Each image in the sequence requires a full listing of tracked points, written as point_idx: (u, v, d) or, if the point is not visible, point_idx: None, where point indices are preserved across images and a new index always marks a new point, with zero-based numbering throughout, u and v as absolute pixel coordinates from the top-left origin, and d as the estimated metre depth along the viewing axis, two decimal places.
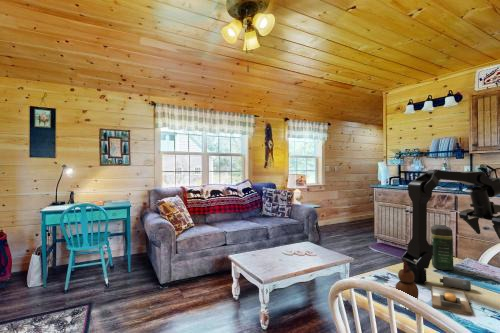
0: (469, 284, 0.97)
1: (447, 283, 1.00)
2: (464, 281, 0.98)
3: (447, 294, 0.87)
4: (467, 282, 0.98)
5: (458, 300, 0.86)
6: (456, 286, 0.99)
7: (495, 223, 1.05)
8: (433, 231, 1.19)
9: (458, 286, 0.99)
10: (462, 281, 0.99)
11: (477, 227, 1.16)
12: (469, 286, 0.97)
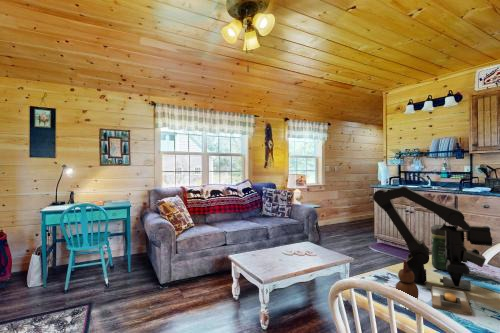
0: (469, 284, 0.97)
1: (447, 284, 1.00)
2: (464, 281, 0.98)
3: (447, 294, 0.87)
4: (467, 282, 0.98)
5: (458, 300, 0.86)
6: (456, 286, 0.99)
7: (446, 267, 0.96)
8: (433, 231, 1.19)
9: None
10: (462, 281, 0.99)
11: None
12: (469, 286, 0.97)
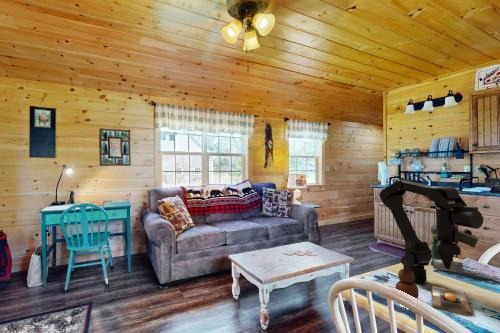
0: (461, 266, 0.91)
1: (438, 266, 0.95)
2: (456, 263, 0.92)
3: (447, 294, 0.87)
4: (459, 264, 0.92)
5: (458, 300, 0.86)
6: (447, 269, 0.93)
7: None
8: (433, 231, 1.19)
9: (449, 269, 0.93)
10: (454, 263, 0.93)
11: None
12: (461, 268, 0.91)
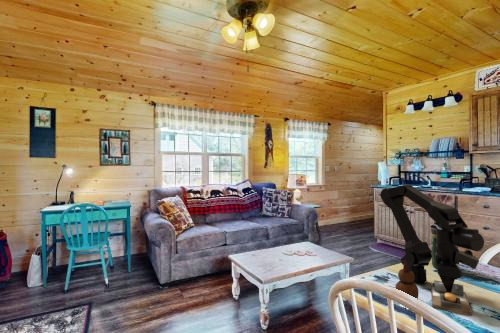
0: (462, 289, 0.91)
1: (439, 288, 0.95)
2: (457, 286, 0.92)
3: (447, 294, 0.87)
4: (460, 287, 0.92)
5: (458, 300, 0.86)
6: None
7: (437, 269, 0.91)
8: (433, 231, 1.19)
9: None
10: (454, 286, 0.93)
11: None
12: (462, 291, 0.91)
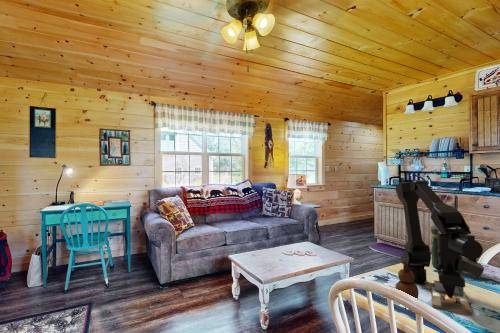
0: (462, 289, 0.91)
1: (439, 288, 0.95)
2: None
3: (447, 296, 0.87)
4: (460, 287, 0.92)
5: (458, 300, 0.86)
6: None
7: None
8: (433, 231, 1.19)
9: None
10: None
11: None
12: (462, 291, 0.91)
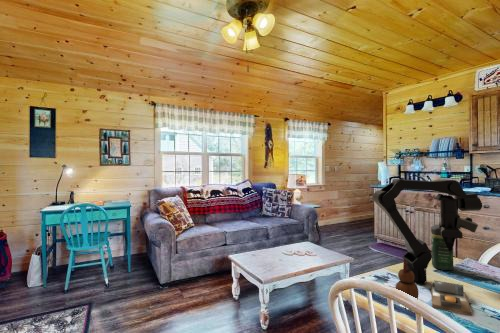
0: (462, 289, 0.91)
1: (439, 288, 0.95)
2: (457, 286, 0.92)
3: (447, 297, 0.87)
4: (460, 287, 0.92)
5: (458, 300, 0.86)
6: (448, 291, 0.93)
7: (441, 233, 1.02)
8: (433, 231, 1.19)
9: (450, 291, 0.93)
10: (454, 286, 0.93)
11: None
12: (462, 291, 0.91)
